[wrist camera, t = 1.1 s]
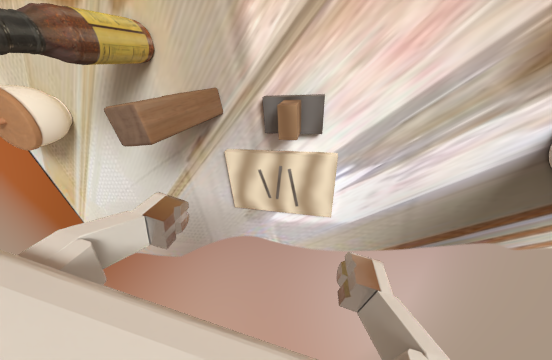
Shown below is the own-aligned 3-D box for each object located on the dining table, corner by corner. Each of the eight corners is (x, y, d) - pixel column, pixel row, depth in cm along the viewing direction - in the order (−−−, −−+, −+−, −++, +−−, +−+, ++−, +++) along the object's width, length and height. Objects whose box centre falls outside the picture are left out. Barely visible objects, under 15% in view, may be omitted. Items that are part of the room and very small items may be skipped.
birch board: (337, 152, 36) (337, 156, 34) (330, 212, 43) (330, 217, 41) (227, 148, 41) (224, 151, 39) (237, 203, 47) (234, 207, 46)
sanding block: (324, 94, 32) (324, 100, 26) (322, 130, 35) (321, 143, 29) (265, 95, 34) (252, 101, 28) (268, 130, 37) (256, 142, 31)
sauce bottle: (117, 29, 34) (-89, -7, 17) (141, 12, 32) (-67, -48, 15) (140, 70, 37) (-19, 73, 20) (164, 57, 34) (8, 48, 18)
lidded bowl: (28, 69, 42) (-57, 70, 33) (82, 102, 43) (14, 112, 34) (38, 119, 49) (-30, 132, 40) (84, 147, 50) (28, 165, 41)
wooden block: (184, 117, 39) (94, 149, 24) (176, 93, 37) (71, 112, 22) (224, 113, 37) (152, 145, 22) (217, 87, 35) (132, 103, 20)
